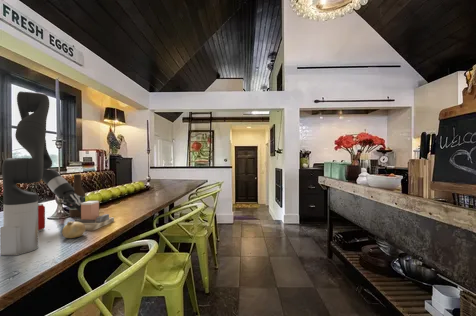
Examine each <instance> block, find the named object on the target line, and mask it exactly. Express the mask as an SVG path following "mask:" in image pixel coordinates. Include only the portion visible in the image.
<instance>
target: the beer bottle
mask: <svg viewBox="0 0 476 316" xmlns="http://www.w3.org/2000/svg"><path fill="white" fill-rule="evenodd" d="M72 187H73V188H74V192H75V193H76V194H77V195H78V196H81V195H82V196H83V199H84V202H86V192H85V190H84V189H83V187H82V174H81V173H79V174H78V173H77V174H73V186H72ZM68 209H69V210H68V211H69V215H68V216H69V217H70V218H81V213H80V212H79V211H78V210H77V209H75V208H73V209H72V208H70V207H68Z"/></svg>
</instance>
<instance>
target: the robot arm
mask: <svg viewBox="0 0 476 316" xmlns="http://www.w3.org/2000/svg"><path fill="white" fill-rule="evenodd" d="M16 102H17V108H18V112H19V116H20V119H21V120H20V121H19V122H18V123H17V126H16V131H15V135H14V136H15V139H16V142H17V143H18V144H19V145H20V146H21V147H22V148H23V149H25V150H26V152H27V153H28V154H29V155H30V156H31V157H12V158H11V157H8V158H6V159H4V160H3V162H2V165H1V176H2V189H3V190H2V191H3V192H2V195H3V197H2V198H3V199H2V200H3V204H2V205H3V218H2V219H3V223H2V224H3V226H1V227H0V256H19V255H22V254H26V253H30V252H33V251H35V250H37V249H38V248H39V232H38V204H39V195H38V193H36V192H34V191H28V190H24V189H21V188H19V187H18V186H17V185H20V184H21V185H22V184H36V183H39V182H41V181H43V182H44V183H45V184H46V185H47V186H48V188H49V189H50V190H51V192H52V193H53V194H55V196H56V197H57V198H58V199H59V200H62V201H61V202H60V204H61V205H63V206H65V207H67V208H69V207H70V208H72V209H73V208H75V209H77V210H78V211H79V212H80V213H81V203H83V202H84V199H83V196H82V195H81V196H78V195H77V194H76V193H75V192H74V188H73V186H72V184H70V183H69V182H68V180H67V179H66V178H64V177H63V176H62V175H61V174H60V173H59V172H58V171H57V170H56V169H52V167H53V160H52V158H51V157H50V154H49V152H48V149H47V140H46V135H47V120H48V114H49V110H50V99H49V96H48V95H47V94H46V93H43V92H36V91H24V90H23V91H19V92H17V95H16Z"/></svg>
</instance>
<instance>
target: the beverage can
mask: <svg viewBox="0 0 476 316" xmlns="http://www.w3.org/2000/svg"><path fill="white" fill-rule="evenodd" d="M45 228H46V206H45V205H44V203H38V233H39V232H42V231H43V230H44V229H45Z"/></svg>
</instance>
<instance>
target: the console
mask: <svg viewBox="0 0 476 316" xmlns="http://www.w3.org/2000/svg"><path fill="white" fill-rule="evenodd" d="M73 221H74V222H81V223H83V224H84V225H85V228H86V229H85V231H90V232H91V231H95V230H98V229H100V228H102V227H105V226H107V225H109V224H111V223H114V222H115V217H113V216H112V217H110V214H107V213H106V214H101V215H99V217H97V218H96V220H86V219H81V218H79V219H78V218H77V219H76V218H75V219H74V220H73ZM66 225H67V224H65V225H64V226H63V228H64V227H65V226H66Z"/></svg>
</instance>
